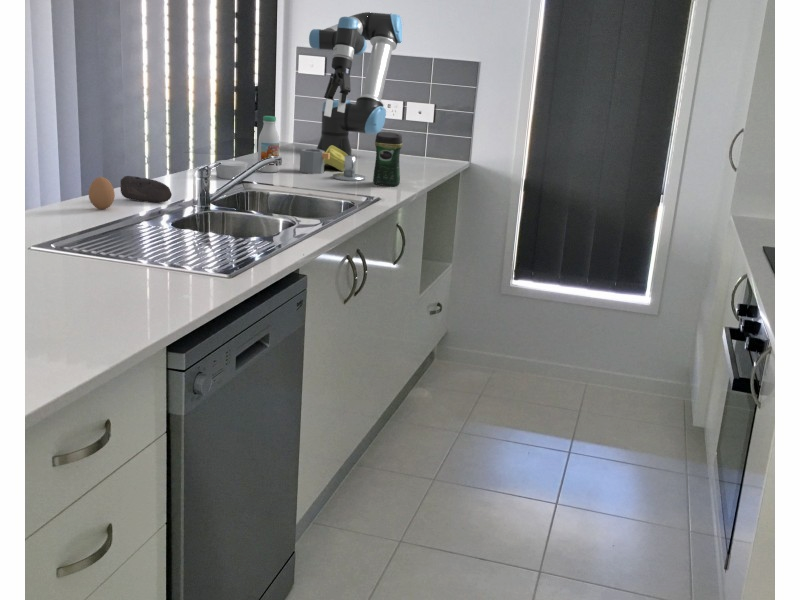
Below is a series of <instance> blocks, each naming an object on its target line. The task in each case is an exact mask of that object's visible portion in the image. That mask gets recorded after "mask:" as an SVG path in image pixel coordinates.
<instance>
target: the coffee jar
mask: <svg viewBox="0 0 800 600" xmlns="http://www.w3.org/2000/svg"><path fill="white" fill-rule="evenodd" d="M375 135H376V136H375V142H374V145H375V162H374V170H373V177H372V183H374V185H379V186H386V187H389V186H391V187H393V186H399V185H400V183H401V171H400V170H401V169H400V153H401V149H402V147H403V136H402V134H401V133H399V132H398V133H397V132H391V131H380V132H379V133H377V134H375Z"/></svg>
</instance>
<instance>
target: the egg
mask: <svg viewBox="0 0 800 600" xmlns="http://www.w3.org/2000/svg"><path fill="white" fill-rule="evenodd" d="M115 198H116V197H115V189H114V186H113V185H112V183H111V182H110V180H109V179H107V178H106V177H103V176H100V177H99V176H98V177H96V178H95V179H94V180H93V181H92V182H91V183H90V186H89V187H88V199H89V201H90V202H89V203H91V204H92V205H93V206H94V207H95V208H96V209H97V210H106V208H107V209H108V208H110V207H111V206H112V205H113V203H114V201H115Z"/></svg>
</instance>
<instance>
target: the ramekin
mask: <svg viewBox="0 0 800 600" xmlns="http://www.w3.org/2000/svg"><path fill="white" fill-rule="evenodd" d="M218 162H222V163H221V164H220V165H219V166H218V167H216V166H215V168H216V176H217V177H218V178H220V179H222V178H223V180H231V179H232V178H233V177H235V176H236V175H238V174H239V173H241V172H242V171H244V170H245V169H248V162H246V161H243V160H236V159H235V160H234V159H222V160H217V161H215V162H214V163H218Z"/></svg>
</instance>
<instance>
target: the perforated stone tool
mask: <svg viewBox="0 0 800 600" xmlns="http://www.w3.org/2000/svg"><path fill="white" fill-rule="evenodd" d="M119 188H120V194H121V195H122V197H123V198H126V199H129V200H133V201H137V200H139V201H138V202H144V201H148V202H147V203H165V202H169V200H171V198H172V191H171V189H170V187H169V186H168V185H166V183H163V182H160V181H158V180H155V179H151V178H146V177H139V176H133V175H125V176H124V177H122V178H121V179H120V185H119Z"/></svg>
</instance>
